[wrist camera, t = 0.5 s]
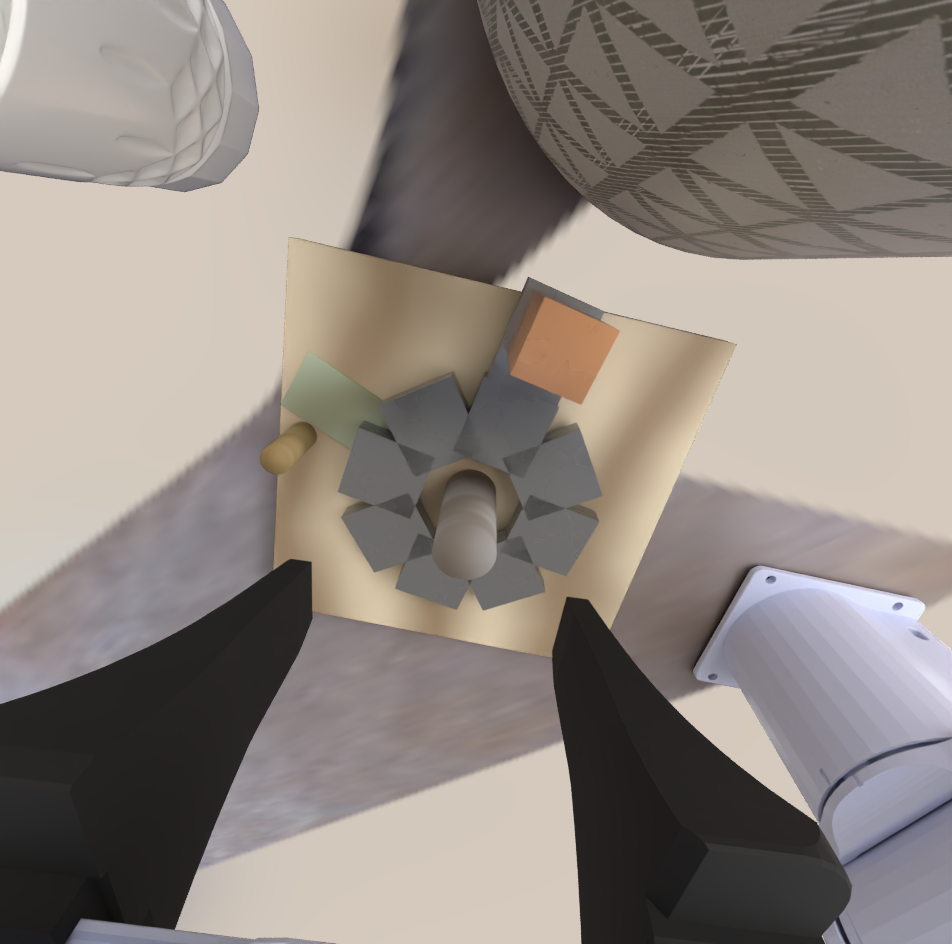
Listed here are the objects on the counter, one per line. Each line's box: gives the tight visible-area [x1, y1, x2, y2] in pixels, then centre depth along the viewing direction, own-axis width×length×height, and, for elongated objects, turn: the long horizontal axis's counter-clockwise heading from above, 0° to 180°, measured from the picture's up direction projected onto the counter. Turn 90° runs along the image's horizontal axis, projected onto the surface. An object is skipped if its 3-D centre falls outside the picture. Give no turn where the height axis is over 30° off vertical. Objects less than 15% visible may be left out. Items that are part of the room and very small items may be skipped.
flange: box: [338, 277, 620, 611], centre depth 18 cm, size 15×11×5 cm
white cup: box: [0, 0, 259, 192], centre depth 12 cm, size 8×8×10 cm
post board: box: [260, 237, 736, 658], centre depth 20 cm, size 18×18×6 cm
